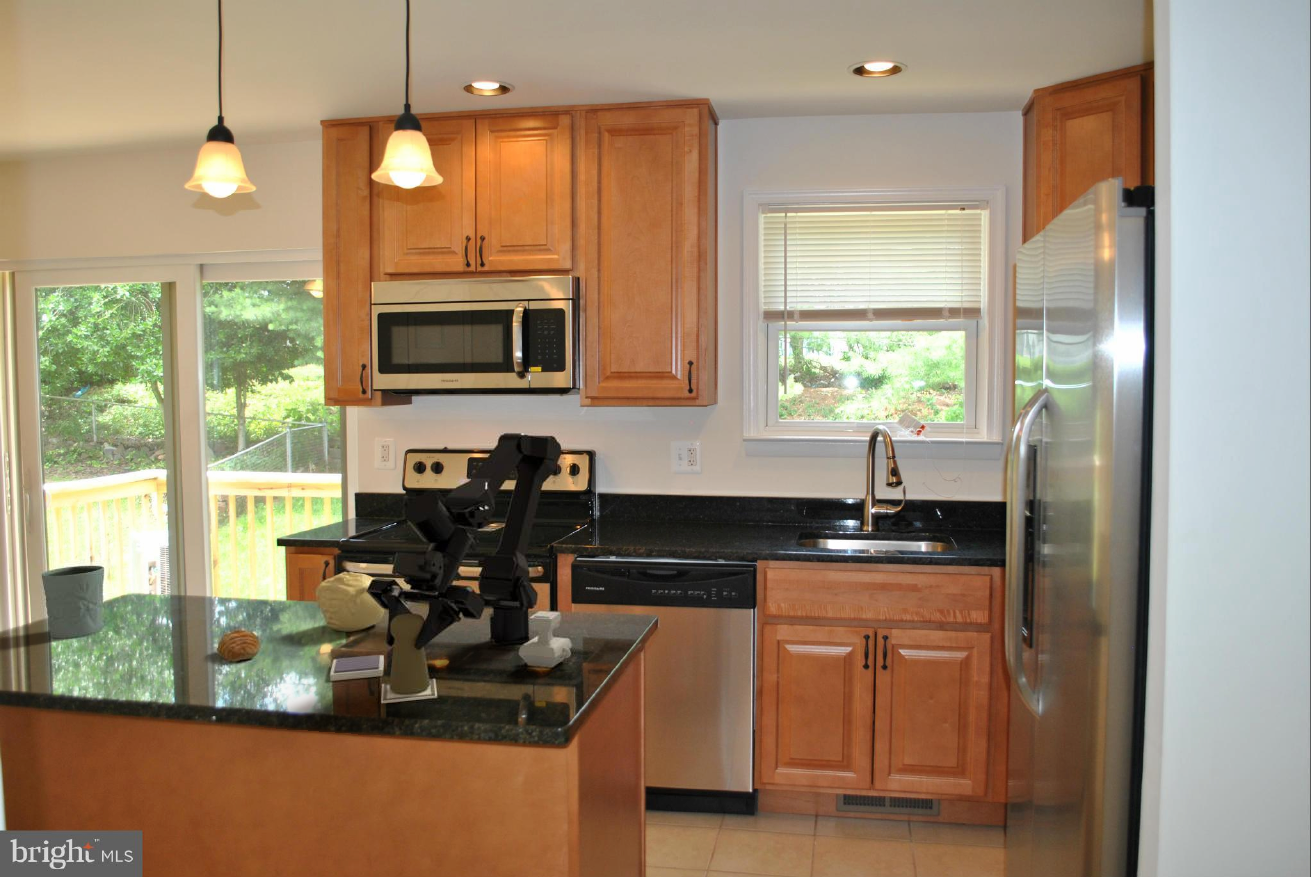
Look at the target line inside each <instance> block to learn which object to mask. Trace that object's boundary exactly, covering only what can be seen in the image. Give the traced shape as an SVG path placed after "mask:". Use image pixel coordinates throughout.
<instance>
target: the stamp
mask: <svg viewBox="0 0 1311 877" xmlns="http://www.w3.org/2000/svg"><path fill="white" fill-rule="evenodd" d="M561 621H562V616H561V612H559V611H558V612H557V611H544V610H542V611H541V610H539V611H537V612H536V613H535V614H532V616H530V617H529V629H531V631H536V632H537V636H535V637H533V639H532V638H531V640H530V641H529V642H526V643H523V644H522V645H521V646H520V648H519V650H518V655H519V656H520V657H521V659H522V660H524V662H525V663H526V664H527V666H531V667H532V666H533V667H538V666H540V667H541V668H550V669H551V668H554V667H555V666H557V665H558V664H559V663H561V662H562V661H564V660H565V659H567V658H569V657H571V654H572V653H571V648H572V647H573V644H572V641H571V640H570V639H569V638H568V637H567V638H566V637H558V636H557V637H556V636H553V630H554V629H556V628H558V627H559V626H560V622H561ZM540 667H539V668H540Z"/></svg>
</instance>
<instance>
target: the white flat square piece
mask: <svg viewBox="0 0 1311 877" xmlns="http://www.w3.org/2000/svg"><path fill="white" fill-rule="evenodd" d="M429 681H430V685H429V687H427V688H426V689H424V690H421V691H417V692H411V693H399V692H394V691H392V690H390V682H388V683H382V684H381V698H380V700H381V701H380V702H381V704H388V703H399V702H407V701H416V700H418V701H419V700H427V699H429V700H430V699H437V698H438V693H437V683H436V678H429Z"/></svg>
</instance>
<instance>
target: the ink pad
mask: <svg viewBox="0 0 1311 877" xmlns="http://www.w3.org/2000/svg"><path fill="white" fill-rule="evenodd" d="M384 656H385V654H384V655H380V654H374V655H363V656H353V657H342V658H337V659H333V662H332V665H331V666H332V667H331V669H330V674H329V678H330V679H329V680H330V682H332V681H333V682H335V681H342V680H343V681H344V680H353V679H355V680H356V679H363V678H373V677H374V678H375V677H383V676H384V663H385V659H384Z"/></svg>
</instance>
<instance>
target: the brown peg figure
mask: <svg viewBox="0 0 1311 877" xmlns="http://www.w3.org/2000/svg"><path fill="white" fill-rule="evenodd" d="M424 622H425V618H424V617H423V616H422V615H421V614H417V613H413V614H402V615H398V616H396V617H395V618H394V619H393V620H392V622H391V625H390V627H391V634H392V636H393V637H394V638H395V639H394V644H393V650H392V659H391V660H392V661H391V669H390V677H389V678H390V679H389V683H390V690H392V691H394V692H399V693H411V692H417V691H421V690H424V689H426V688H427V687H429V685H430V681H429V679H430V676H429V669H428V664H427V659H426V652H425V646H424V647H423V648H422V649H420V650H417V649H416V648H415V643H416V640H417V637H418V635H419V633H420V631H421V628H422V626H423V624H424Z"/></svg>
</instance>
